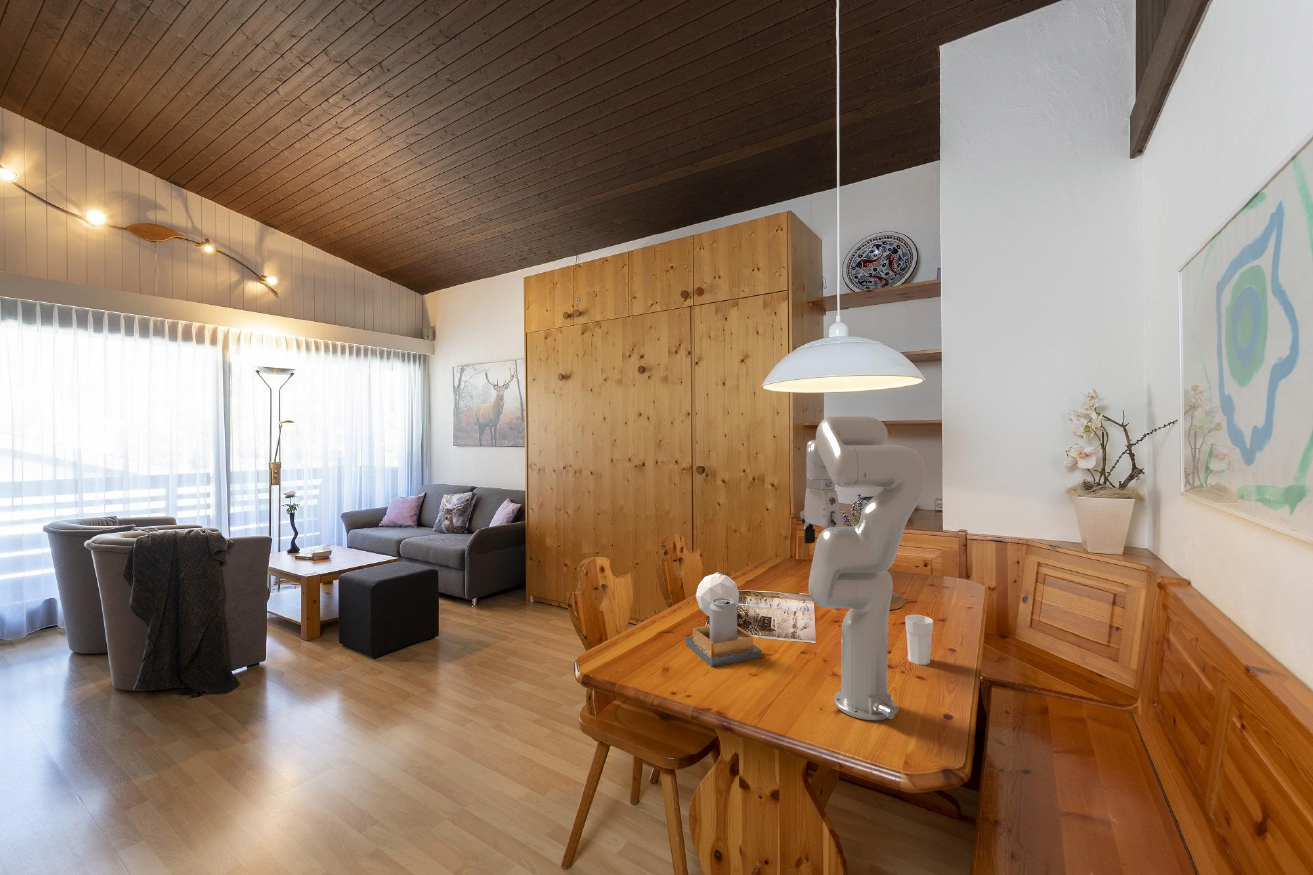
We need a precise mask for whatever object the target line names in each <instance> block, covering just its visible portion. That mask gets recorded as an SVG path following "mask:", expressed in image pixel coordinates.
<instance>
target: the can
mask: <svg viewBox="0 0 1313 875" xmlns="http://www.w3.org/2000/svg"><path fill="white" fill-rule="evenodd" d="M734 603H735V602H734V600H732V599H729V598H716V599H713V600H712V604H711V605H710V616H709V626H710V640H711V641H712V642H713V643H717V642H723V641H729V640H735V639H737V626H738V606H736V605H735V604H734Z"/></svg>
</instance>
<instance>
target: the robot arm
mask: <svg viewBox="0 0 1313 875" xmlns="http://www.w3.org/2000/svg"><path fill="white" fill-rule="evenodd" d="M888 434H889V433H888V429H887V427H886V425H885V424H884V423H883V422H882V421H880V419H878V418H876V417H872V416H864V415H862V416H861V415H860V416H859V415H853V416H851V415H850V416H848V415H847V416H844V415H843V416H838V415H837V416H836V415H835V416H829V417H826V418H824V419H822V420H821V421H820V423H819V424H818V426H817V429H816V431H815V439H811V440H809V441H808V442H807V444H806V490H805V497H804V509H803V510H801V511H800V512H799V515H800V520H801V521H800V522H801V523H802V528H803V531H804V532H803V534H804V536H803V537H804V539H803V540H804V542H803V543H804V544H807V545H808V544H814V543H815V547H814V553H813V557H812V560H811V561H812V562H811V567H810V570H809V571H810V572H809V577H808V593H809V597H810V600H811V602H813V604H814V605H816V606H817V607H819V608H822V609H849V610H848V611H847V613H846V614H845V616H844V617H843V621H842V624H841V689H840V690H839V691H837V692H836V693H835V694H834V697H833V699H834V700H833V703H834V705H835V706H836V708H838V710H839V711H841V712H843V713H844V714H846V715H848V716H850V717H854V718H855V719H860V720H866V721H882V720H886V719H890V720H892V719H894V718H895V717H896V716H895V715H896V713H898V712H900V707H899V706H898V705H897V704H895V702H894V701H893V700H892V693H891V692H889V691H888V639H889V638H888V637H889V635H888V634H889V627H888V626H889V614H890V606H891V601H892V595H893V592H894V591H893V587H894V583H893V579H892V575H891V574H890V572H889V571H888V570H889V569H890V568H891V567H892V566H893V564H894V562H895V560H896V556H897V553H898V550H899V548H900V545H901V542H902V538H903V535H904V531H905V528H906V525H907V523H908V521H909V519H910V517H911V516H912V513H914V510H915V509H916V508H917V506H918V504H919V502H920V500H921V498H922V495H923V492H924V488H925V485H926V484H925V483H926V465H925V461H924V459H923V457H922V455H921V454H920V453H919V452H918V451H917V450H916V449H913V448H911V447H908V446H906V445H905V446H904V445H899V444H898V445H897V444H886V443H887V441H888V437H889V436H888ZM836 486H838V487H840V488H846V489H847V488H849V489H851V488H853V489H855V488H858V489H859V488H863V489H864V488H883V489H882V490H881V491H879V492H878V493H877V494H875V495H874V496H873V497H872V498H870V500H868V502H867V503H866V504H865V505H864V507H863V509H862V510H861V514H860V518H859V521H858V523H857V524H855V525H852V526H844V524H845V522H844V520H843V518H841V516H840V514H841V513H840V502H839V496H838V492H837V490H836ZM815 526H816V527H820V528H823V530H821V532H820V533H819V535H818V537H817V539H816V529H815V528H814V527H815ZM824 528H825V529H824Z"/></svg>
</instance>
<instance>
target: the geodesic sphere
mask: <svg viewBox="0 0 1313 875" xmlns="http://www.w3.org/2000/svg"><path fill="white" fill-rule="evenodd" d="M716 598H729V599H732V600H734V602H735V603H734V604H735V605H736V606H737V607H738V606H739V600H740V599H739V598H740V591H739V590H738V586H737V583H736V582H735V581H734V580H732V578H730V577H729V576H728V575H724V574H722V572H719V571H715V573H713V574H712V573H711V574H709V575H707V576H704V578H703V579H702V580H701V581H700V583H699V584H698V586H697V589H696V593H695V599H696V602H697V604H698V605H697V606H698V607H699V610H701V611H702V613H704V614H705V615H706V616H707V617H710V605H711V604H712V600H713V599H716Z"/></svg>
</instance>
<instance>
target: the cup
mask: <svg viewBox="0 0 1313 875" xmlns="http://www.w3.org/2000/svg"><path fill="white" fill-rule="evenodd" d="M904 617H905V621H904V622H905V630H906V642H907V643H906V644H907V645H906V646H907V647H906V648H907V660H908V661H909V662H910V663H912V664H915V665H919V666H924V665H925V666H926V665H929V664H930V663H931V654H932V653H931V651H932V650H931V649H932V634H933V631H934V630H933V629H934V619H933V618H931V617H929V616H925V615H921V614H909V615H906V616H904Z"/></svg>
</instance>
